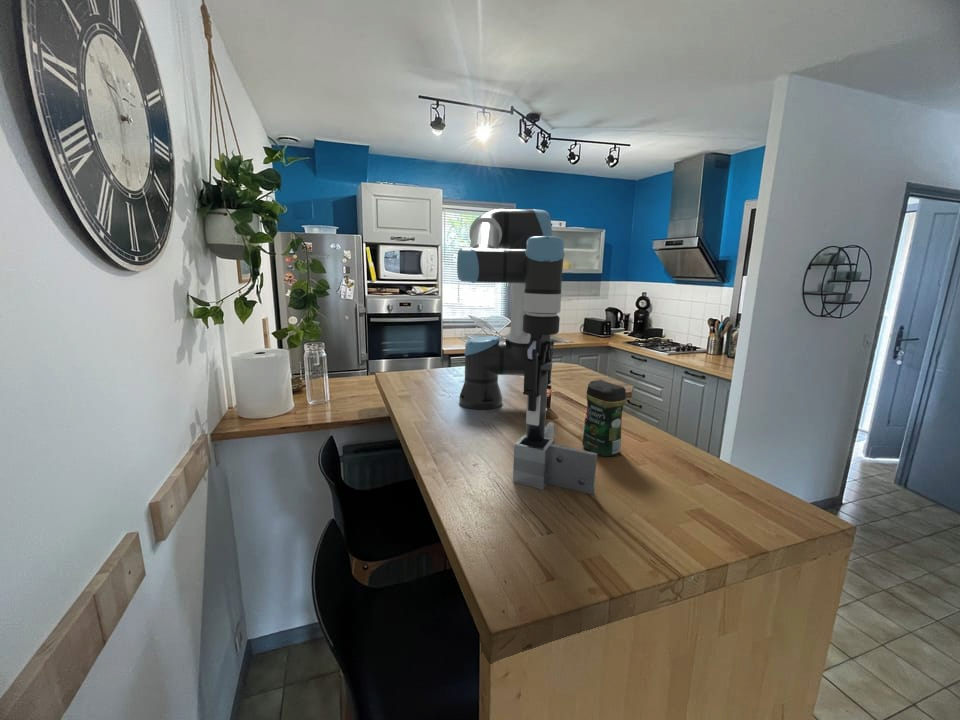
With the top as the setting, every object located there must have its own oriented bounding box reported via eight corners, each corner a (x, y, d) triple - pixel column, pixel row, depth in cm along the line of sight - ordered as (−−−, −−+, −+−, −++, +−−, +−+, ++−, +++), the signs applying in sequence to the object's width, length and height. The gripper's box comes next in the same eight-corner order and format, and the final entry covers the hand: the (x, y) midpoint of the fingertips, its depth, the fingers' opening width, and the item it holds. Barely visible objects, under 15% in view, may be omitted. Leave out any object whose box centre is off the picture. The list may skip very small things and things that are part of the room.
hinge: (536, 452, 107) (538, 420, 105) (604, 467, 100) (607, 432, 98) (512, 482, 92) (514, 444, 90) (590, 501, 85) (593, 461, 83)
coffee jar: (576, 446, 112) (581, 379, 108) (597, 440, 116) (603, 376, 112) (604, 460, 104) (610, 389, 100) (625, 453, 108) (632, 385, 104)
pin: (527, 431, 95) (530, 358, 92) (550, 436, 93) (555, 361, 89) (518, 440, 90) (522, 363, 87) (543, 445, 88) (547, 366, 84)
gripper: (537, 309, 95) (532, 407, 100) (509, 316, 80) (505, 430, 85) (569, 311, 92) (562, 412, 97) (547, 319, 77) (540, 437, 82)
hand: (535, 420), depth 91 cm, fingers closed on pin, 4 cm apart
